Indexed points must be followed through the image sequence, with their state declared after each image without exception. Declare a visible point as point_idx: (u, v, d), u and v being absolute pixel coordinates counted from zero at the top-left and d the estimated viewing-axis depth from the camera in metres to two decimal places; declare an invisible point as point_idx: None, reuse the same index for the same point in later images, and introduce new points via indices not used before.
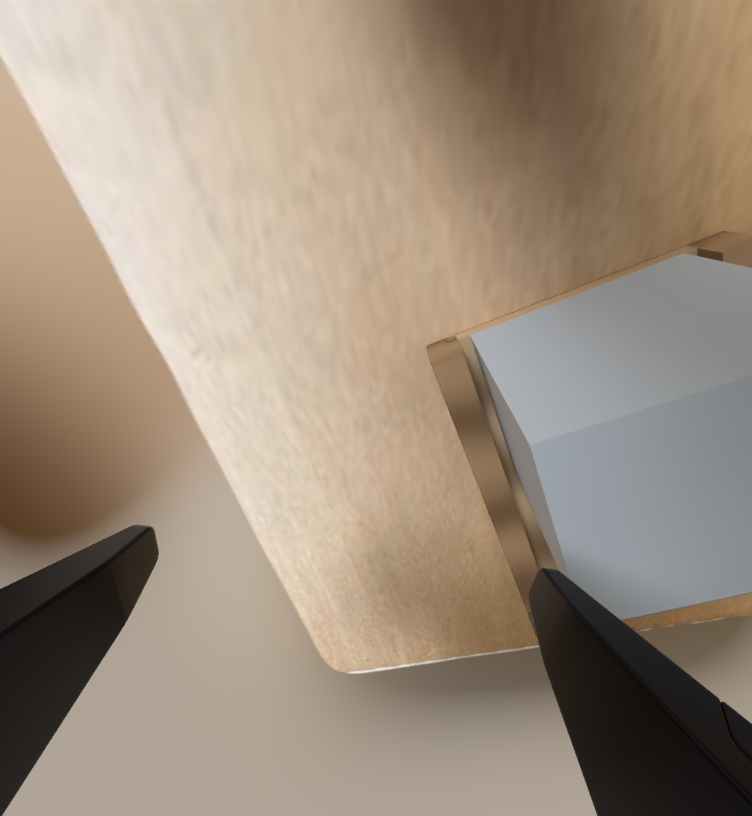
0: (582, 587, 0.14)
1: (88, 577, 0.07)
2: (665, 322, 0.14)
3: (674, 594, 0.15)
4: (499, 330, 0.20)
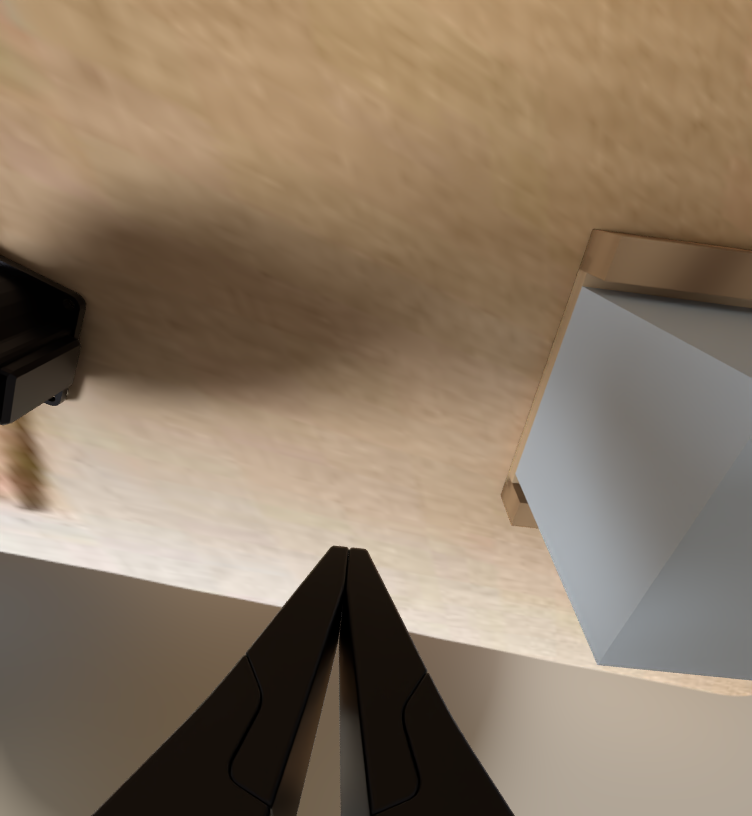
0: None
1: (339, 603, 0.07)
2: (608, 437, 0.14)
3: None
4: (527, 463, 0.21)
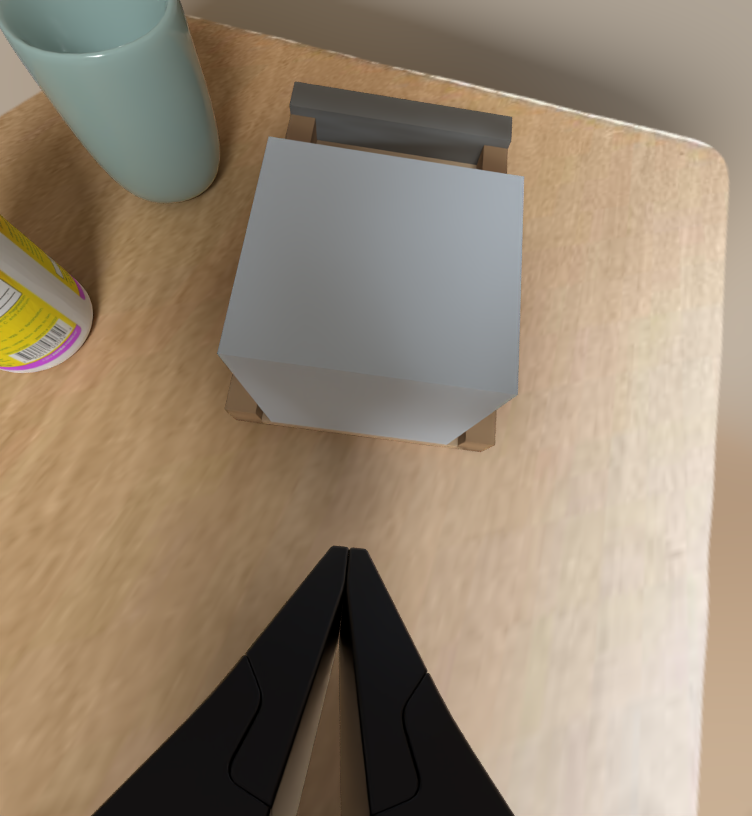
0: (514, 225, 0.15)
1: (339, 603, 0.07)
2: (339, 404, 0.18)
3: (440, 180, 0.16)
4: (426, 438, 0.22)
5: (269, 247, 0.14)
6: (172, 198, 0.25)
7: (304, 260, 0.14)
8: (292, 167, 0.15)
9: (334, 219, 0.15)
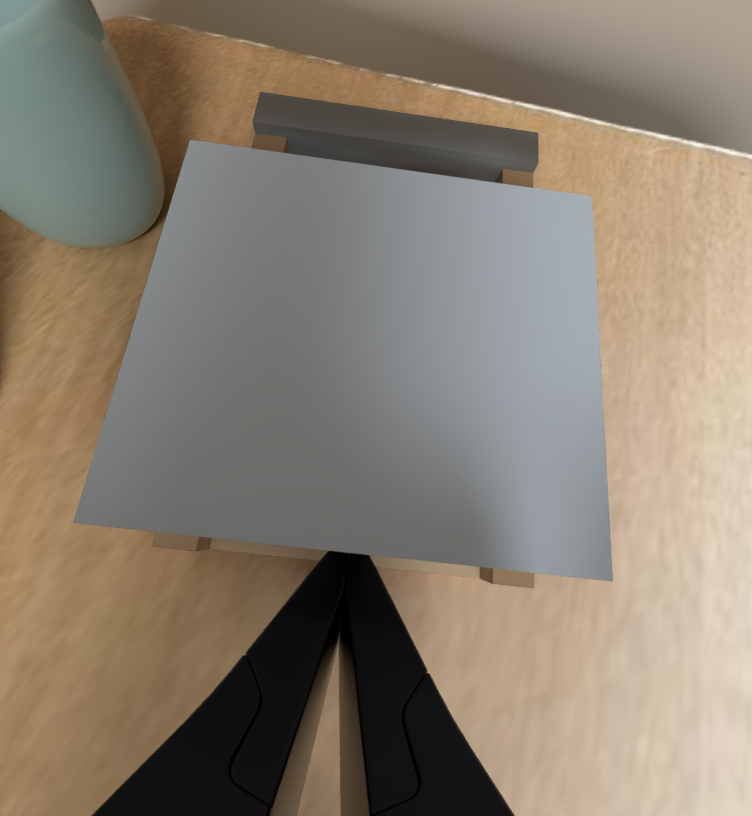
0: (582, 275, 0.10)
1: (339, 603, 0.07)
2: None
3: (462, 205, 0.10)
4: None
5: (180, 321, 0.09)
6: (99, 243, 0.19)
7: (238, 342, 0.09)
8: (226, 187, 0.10)
9: (291, 270, 0.09)
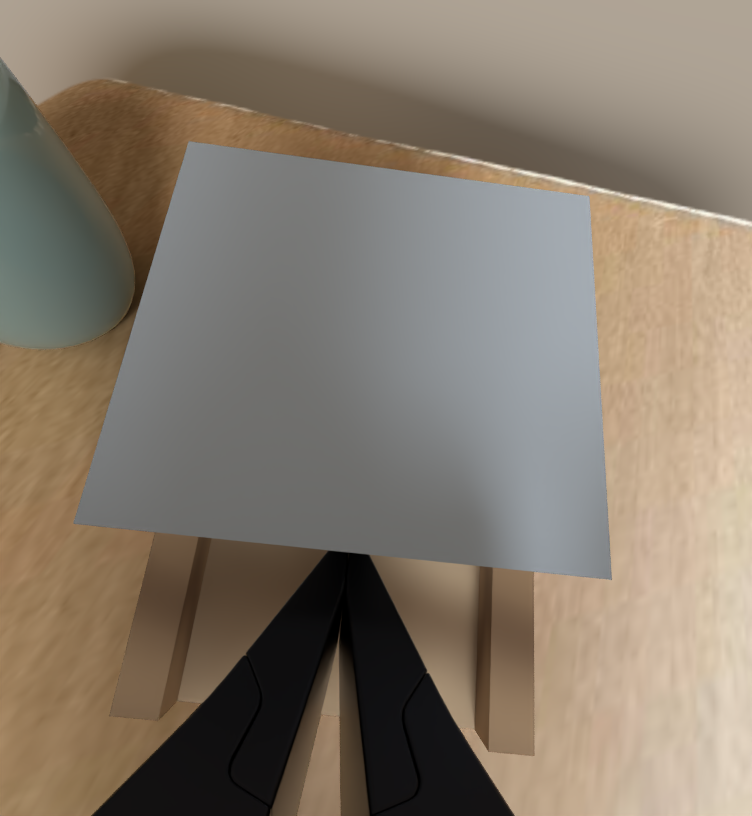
0: (580, 274, 0.10)
1: (339, 603, 0.07)
2: None
3: (460, 205, 0.10)
4: None
5: (179, 322, 0.09)
6: (62, 347, 0.18)
7: (238, 343, 0.09)
8: (224, 188, 0.10)
9: (290, 271, 0.09)
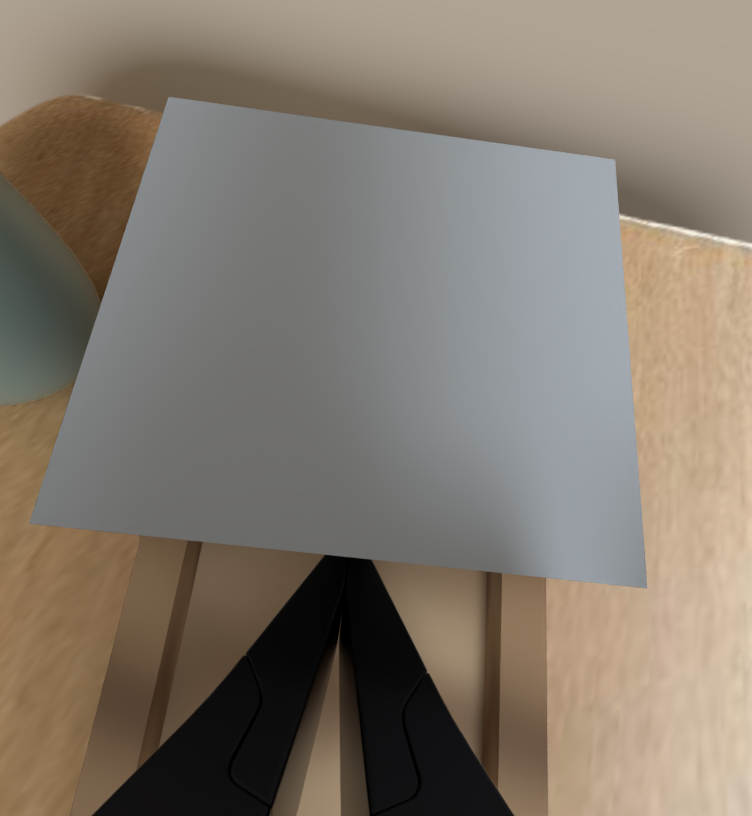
0: (606, 245, 0.09)
1: (339, 602, 0.07)
2: None
3: (471, 168, 0.09)
4: None
5: (155, 296, 0.08)
6: (20, 403, 0.16)
7: (221, 318, 0.08)
8: (208, 148, 0.09)
9: (281, 240, 0.08)
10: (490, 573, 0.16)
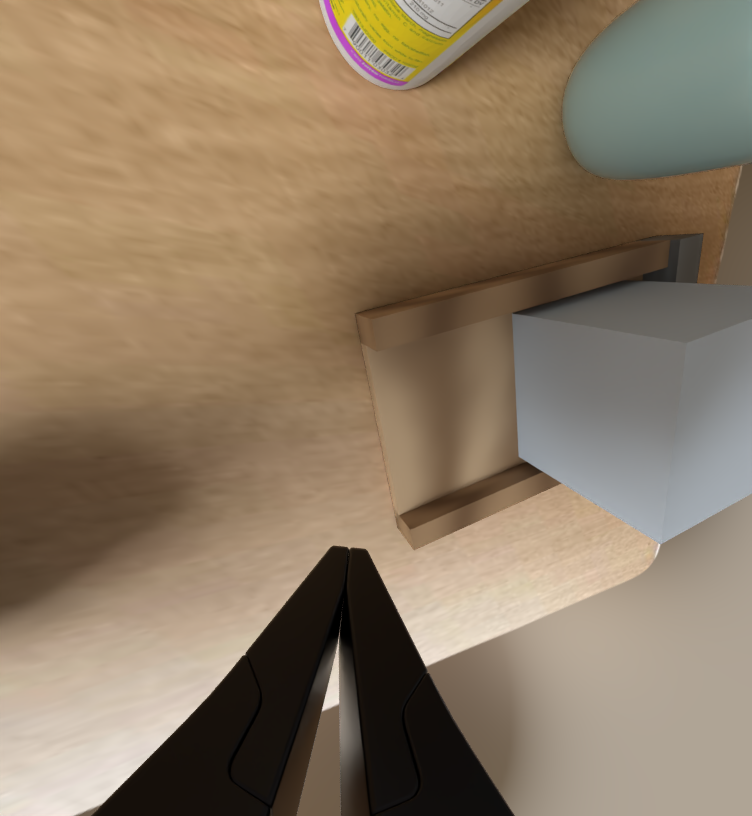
0: None
1: (339, 603, 0.07)
2: (589, 402, 0.21)
3: None
4: (526, 444, 0.27)
5: None
6: (571, 138, 0.21)
7: (744, 368, 0.17)
8: None
9: None
10: (513, 470, 0.28)
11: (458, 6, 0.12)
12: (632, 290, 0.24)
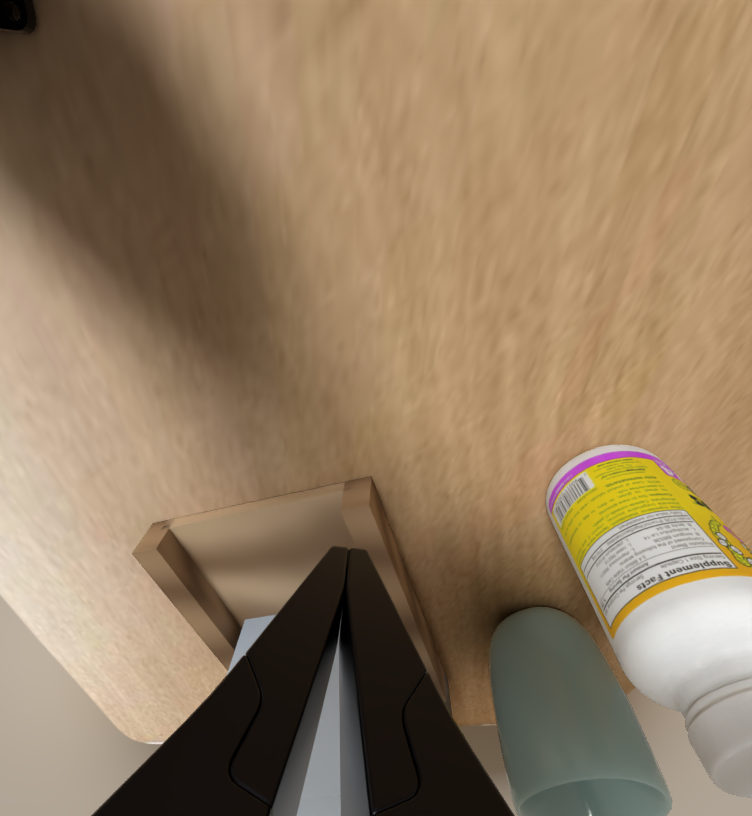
0: None
1: (339, 603, 0.07)
2: None
3: None
4: (258, 628, 0.28)
5: None
6: (516, 621, 0.27)
7: None
8: None
9: None
10: (230, 619, 0.28)
11: (600, 588, 0.17)
12: None
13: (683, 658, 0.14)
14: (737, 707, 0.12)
